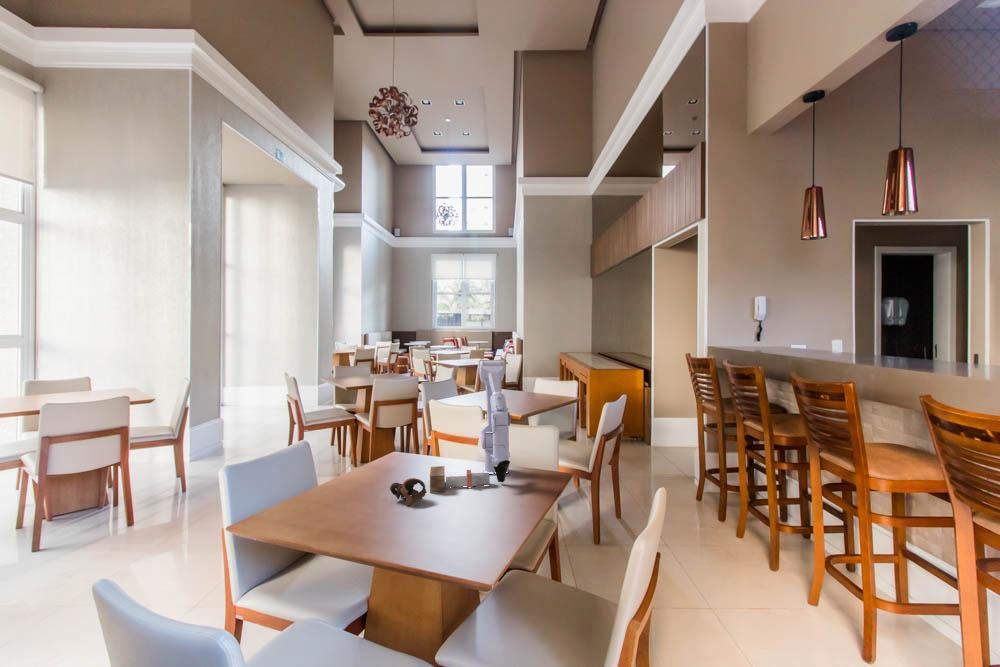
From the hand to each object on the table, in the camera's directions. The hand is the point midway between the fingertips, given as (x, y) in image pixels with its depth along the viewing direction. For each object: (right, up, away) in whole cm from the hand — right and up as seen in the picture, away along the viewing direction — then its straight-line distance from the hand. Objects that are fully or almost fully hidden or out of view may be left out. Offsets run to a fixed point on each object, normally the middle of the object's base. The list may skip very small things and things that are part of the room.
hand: (501, 481), depth 172 cm
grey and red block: (-12, -1, -1) cm, 12 cm away
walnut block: (-23, -1, -3) cm, 23 cm away
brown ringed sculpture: (-30, -2, -17) cm, 35 cm away
